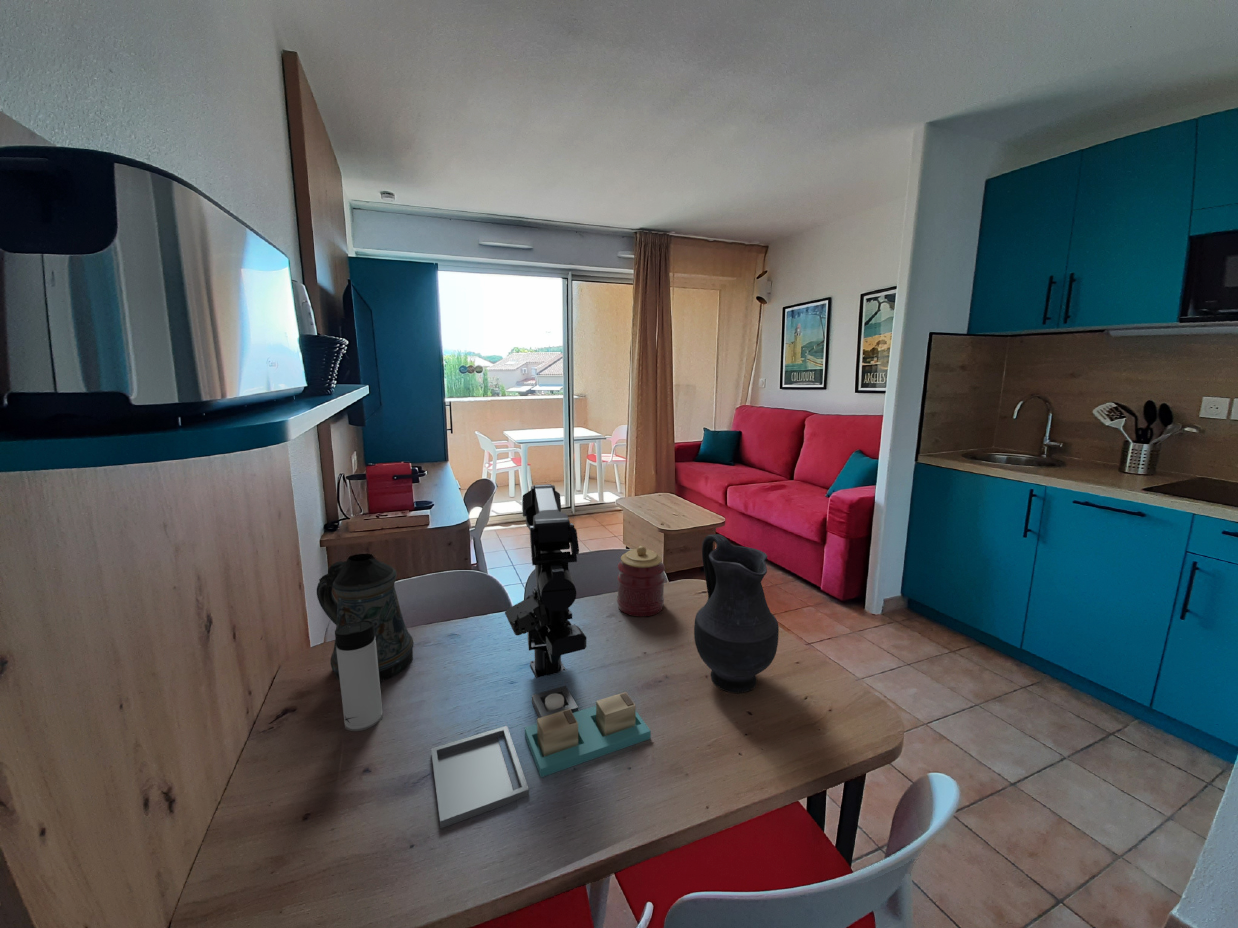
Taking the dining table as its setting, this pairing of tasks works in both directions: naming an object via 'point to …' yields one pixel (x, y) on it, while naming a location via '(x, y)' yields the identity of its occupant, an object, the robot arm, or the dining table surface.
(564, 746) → the block
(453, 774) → the grey tray
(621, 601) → the canister
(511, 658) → the dining table surface
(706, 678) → the dining table surface
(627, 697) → the block
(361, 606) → the beer stein
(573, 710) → the button housing
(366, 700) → the travel mug
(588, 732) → the teal block holder tray
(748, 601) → the pitcher
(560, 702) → the button
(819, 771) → the dining table surface
